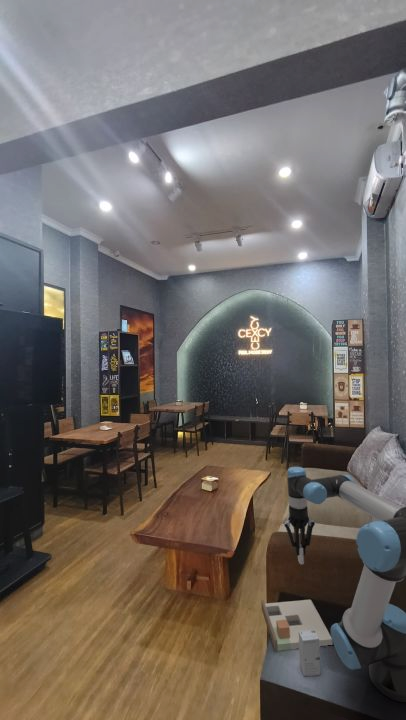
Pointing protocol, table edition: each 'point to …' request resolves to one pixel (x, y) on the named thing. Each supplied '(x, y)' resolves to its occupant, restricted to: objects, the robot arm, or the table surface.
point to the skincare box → (309, 653)
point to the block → (283, 629)
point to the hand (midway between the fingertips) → (300, 562)
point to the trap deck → (294, 622)
